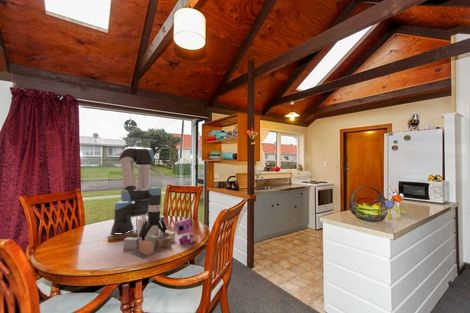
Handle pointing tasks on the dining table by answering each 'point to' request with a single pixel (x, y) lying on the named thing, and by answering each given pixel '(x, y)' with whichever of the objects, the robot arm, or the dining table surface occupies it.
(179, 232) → the toy
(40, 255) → the dining table surface
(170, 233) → the maple brick
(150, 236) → the sage brick
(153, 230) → the castle model
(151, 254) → the felt mat
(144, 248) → the terracotta brick
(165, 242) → the walnut brick
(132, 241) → the grey brick
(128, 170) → the robot arm
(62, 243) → the dining table surface
